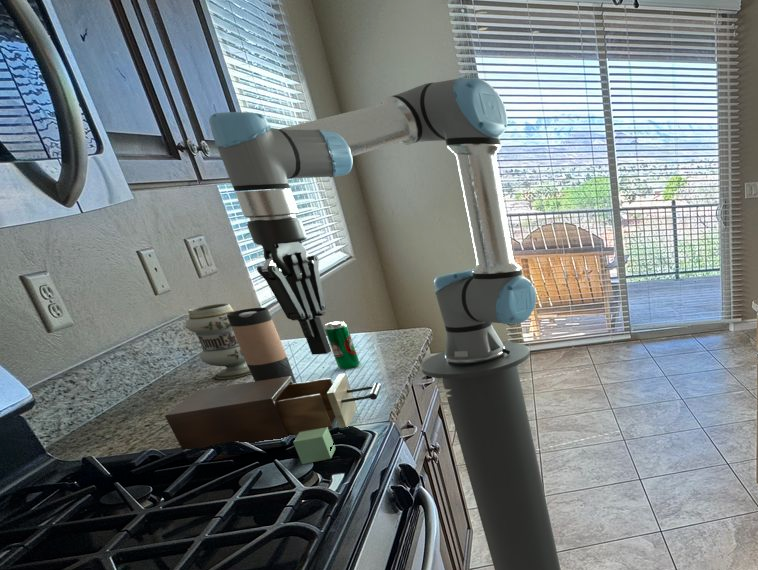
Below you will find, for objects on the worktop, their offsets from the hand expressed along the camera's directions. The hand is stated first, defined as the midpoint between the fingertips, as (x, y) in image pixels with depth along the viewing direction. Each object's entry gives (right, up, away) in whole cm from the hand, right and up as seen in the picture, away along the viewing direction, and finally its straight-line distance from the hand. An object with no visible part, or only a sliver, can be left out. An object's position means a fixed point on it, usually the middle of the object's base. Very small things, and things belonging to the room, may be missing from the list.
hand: (321, 352), depth 104 cm
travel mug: (-31, -6, +30) cm, 44 cm away
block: (+1, -19, -2) cm, 19 cm away
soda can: (-26, +2, +48) cm, 54 cm away
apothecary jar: (-56, +1, +48) cm, 74 cm away
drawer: (-6, -13, +10) cm, 17 cm away
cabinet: (-18, -16, +6) cm, 25 cm away
